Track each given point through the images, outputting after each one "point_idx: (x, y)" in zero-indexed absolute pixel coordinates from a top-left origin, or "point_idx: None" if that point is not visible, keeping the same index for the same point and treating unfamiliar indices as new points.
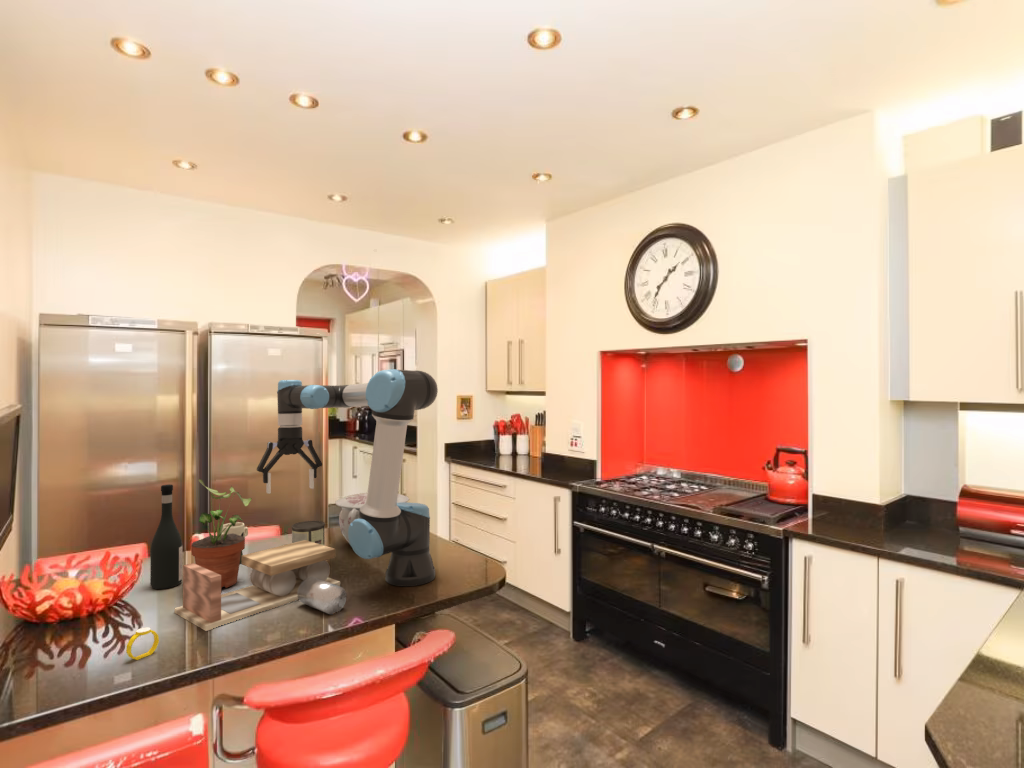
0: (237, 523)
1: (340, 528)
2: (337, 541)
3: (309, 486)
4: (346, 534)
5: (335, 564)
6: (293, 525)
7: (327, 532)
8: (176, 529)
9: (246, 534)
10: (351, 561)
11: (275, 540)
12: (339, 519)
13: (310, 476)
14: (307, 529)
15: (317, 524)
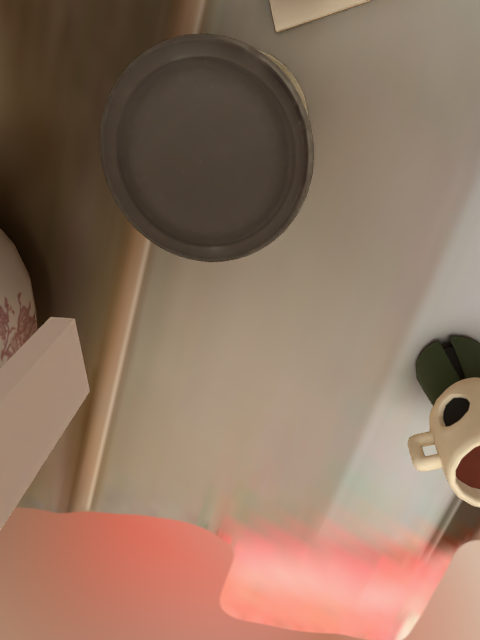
0: (466, 493)
1: None
2: None
3: (81, 392)
4: (20, 277)
5: None
6: (290, 206)
7: (81, 480)
8: None
9: (416, 439)
10: (60, 83)
11: (245, 499)
12: None
13: (8, 447)
14: (240, 42)
15: (150, 131)
